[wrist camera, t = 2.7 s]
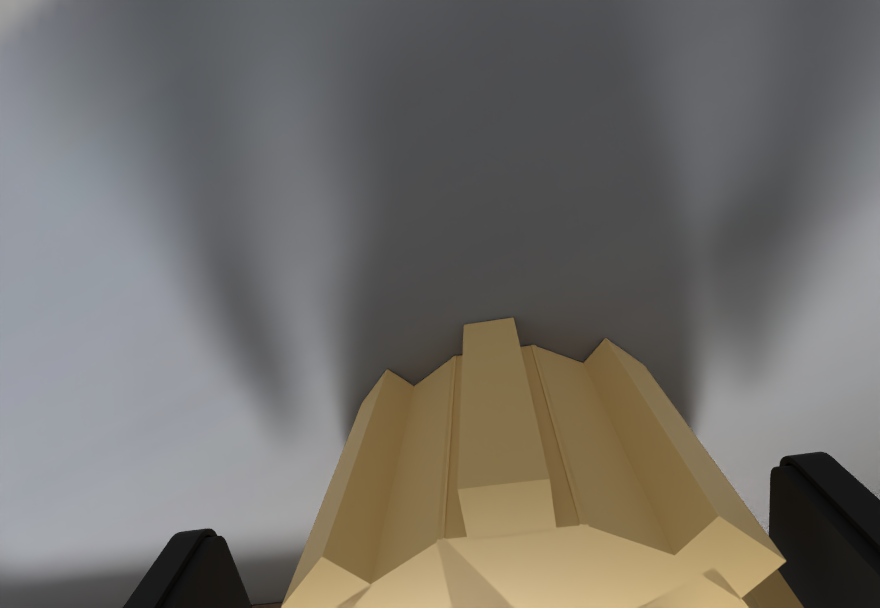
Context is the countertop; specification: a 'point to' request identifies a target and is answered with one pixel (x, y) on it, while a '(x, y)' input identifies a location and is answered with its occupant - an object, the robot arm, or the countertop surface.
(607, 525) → the ochre gear
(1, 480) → the countertop surface
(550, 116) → the countertop surface
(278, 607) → the gear board
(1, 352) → the countertop surface
